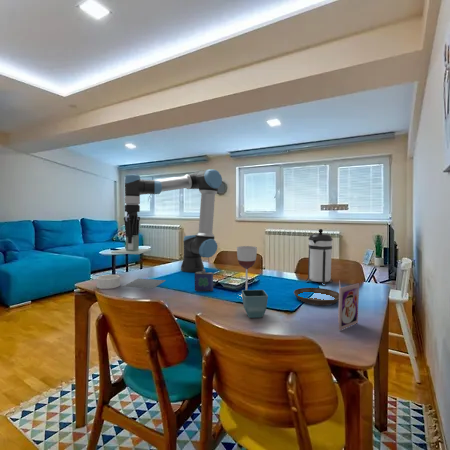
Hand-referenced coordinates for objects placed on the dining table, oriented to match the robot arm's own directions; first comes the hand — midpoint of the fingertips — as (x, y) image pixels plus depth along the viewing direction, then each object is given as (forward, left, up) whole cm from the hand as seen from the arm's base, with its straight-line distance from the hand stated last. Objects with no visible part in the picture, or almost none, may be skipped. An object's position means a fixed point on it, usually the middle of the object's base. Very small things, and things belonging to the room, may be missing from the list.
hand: (132, 249), depth 157 cm
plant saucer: (-93, +5, -20) cm, 96 cm away
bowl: (+11, +6, -19) cm, 23 cm away
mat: (-6, -3, -19) cm, 20 cm away
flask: (-40, +2, -19) cm, 44 cm away
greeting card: (-99, +33, -19) cm, 106 cm away
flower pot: (-67, +31, -19) cm, 77 cm away
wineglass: (-62, +7, -19) cm, 65 cm away
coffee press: (-98, -29, -19) cm, 105 cm away
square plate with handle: (0, 0, -1) cm, 1 cm away
